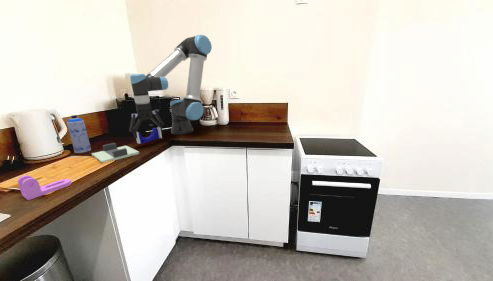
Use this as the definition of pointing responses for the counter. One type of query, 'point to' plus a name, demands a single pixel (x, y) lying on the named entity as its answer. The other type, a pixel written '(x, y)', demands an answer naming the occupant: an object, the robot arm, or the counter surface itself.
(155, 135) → the cable clip
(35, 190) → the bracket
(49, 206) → the counter surface
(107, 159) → the board
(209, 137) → the counter surface
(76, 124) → the aerosol can
